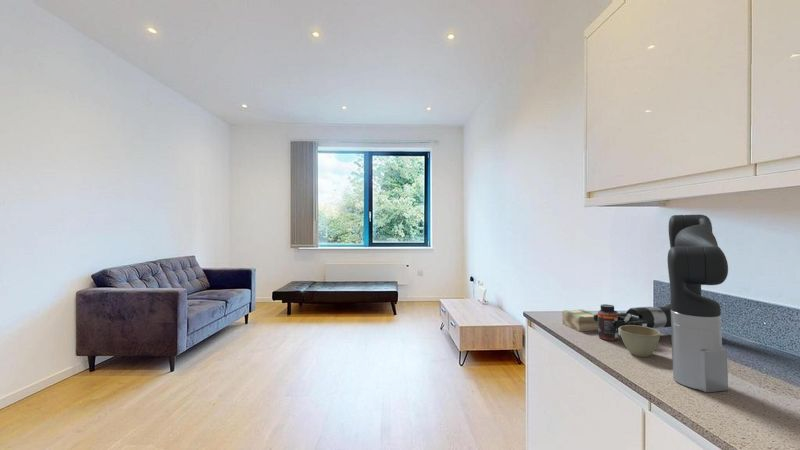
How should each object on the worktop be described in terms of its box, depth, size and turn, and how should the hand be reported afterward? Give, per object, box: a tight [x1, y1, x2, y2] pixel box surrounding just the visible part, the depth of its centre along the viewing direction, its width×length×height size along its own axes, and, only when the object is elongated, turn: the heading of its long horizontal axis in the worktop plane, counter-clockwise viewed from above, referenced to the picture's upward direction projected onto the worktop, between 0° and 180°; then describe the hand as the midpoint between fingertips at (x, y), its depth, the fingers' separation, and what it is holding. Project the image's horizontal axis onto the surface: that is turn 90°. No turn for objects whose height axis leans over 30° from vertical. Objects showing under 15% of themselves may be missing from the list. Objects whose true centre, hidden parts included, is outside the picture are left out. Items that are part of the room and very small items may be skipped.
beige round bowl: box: [618, 325, 661, 358], centre depth 101 cm, size 10×10×7 cm
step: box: [561, 309, 598, 332], centre depth 129 cm, size 10×9×5 cm
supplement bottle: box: [597, 303, 620, 342], centre depth 115 cm, size 6×6×11 cm
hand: (603, 321), depth 115 cm, fingers open, 8 cm apart
